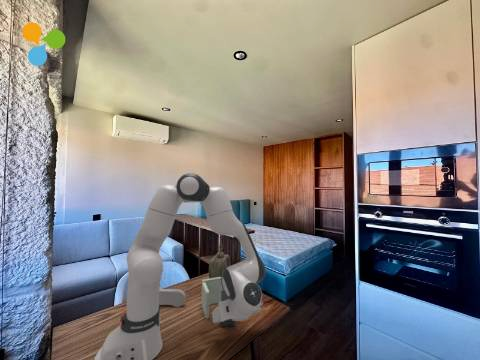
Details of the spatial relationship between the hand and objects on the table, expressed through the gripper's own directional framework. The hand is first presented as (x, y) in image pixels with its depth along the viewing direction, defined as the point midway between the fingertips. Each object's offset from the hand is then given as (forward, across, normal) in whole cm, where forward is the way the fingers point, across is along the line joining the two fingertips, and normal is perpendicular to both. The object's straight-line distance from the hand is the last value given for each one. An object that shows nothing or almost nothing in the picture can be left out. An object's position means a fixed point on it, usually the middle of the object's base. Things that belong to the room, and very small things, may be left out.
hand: (232, 316), depth 89 cm
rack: (+14, 0, -8) cm, 16 cm away
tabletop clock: (+30, -4, -23) cm, 38 cm away
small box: (+8, 0, -1) cm, 8 cm away
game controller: (+22, +27, -15) cm, 38 cm away
